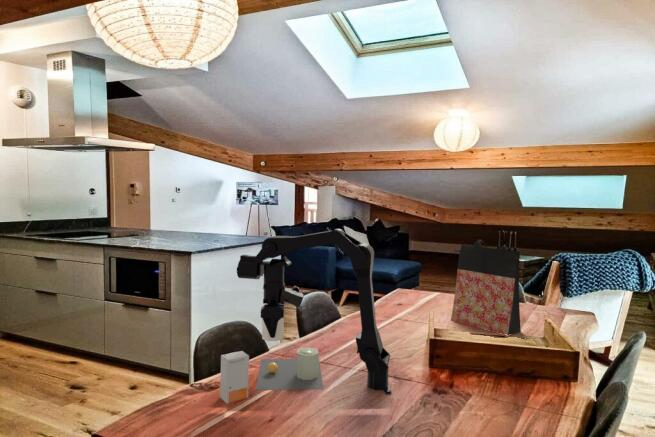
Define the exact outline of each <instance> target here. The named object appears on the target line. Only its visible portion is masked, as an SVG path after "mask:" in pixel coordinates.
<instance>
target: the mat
mask: <svg viewBox="0 0 655 437" xmlns="http://www.w3.org/2000/svg"><path fill="white" fill-rule="evenodd" d="M272 362H273V363H276V364H277V366H278V370H277V372H275V373H270V372H269V371H268V369H267V367H268V365H269V364H270V363H272ZM323 383H324V382H323V379H322V370H321V364H320V360H319V361H318V377H317V378H315V379H313V380H302V379H300V378H297V358H261V359H260V364H259V369H258V375H257V381H256V385H255V391H276V390H277V391H283V390H284V391H285V390H286V391H287V390H288V391H290V390H292V391H293V390H295V391H297V390H299V391H300V390H302V391H303V390H324V384H323Z"/></svg>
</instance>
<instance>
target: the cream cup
mask: <svg viewBox="0 0 655 437" xmlns="http://www.w3.org/2000/svg"><path fill="white" fill-rule="evenodd" d="M261 319H262V322H261V323H262V328H261V329H262V330H261V334H262V335H261V338H262V340H264V341H266V342H278V341H282V340H284V336H285V333H284V330H285V328H284V326H285V322H284V321H285V317H284V318H281V319H280V320H279V321H278V324H277V329H276V334H275V338H271V337H270V335H269V332H268V330H267V327H266V325H265V323H264V321H263V318H261Z"/></svg>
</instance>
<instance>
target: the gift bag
mask: <svg viewBox="0 0 655 437" xmlns="http://www.w3.org/2000/svg"><path fill="white" fill-rule="evenodd" d="M481 242H482V243H483V244H484V245H485V246H482V243H481ZM453 253H459V254H458V260H457V263H458V264H457V271H456V279H455V280H456V282H455V288H454V289H455V291H454V297H453V306H452V311H451V312H452V313H451V317H450V318H451V319H450V321H451V322H457V323H460V324H462V325H467V326H469V327H473V328H478V329H480V328H481V329H480V330H484V329H486V330H485V331H487V330H490V331H489V332H491V331H494V332H498V333H502V334H507V335H509V334H513V335H515V334H517V332H518V333H520V332H521V331H522V328H521V315H520V310H521V309H520V258H521V257H520V256H521V251H518V250H509V249H507V245H506V244H504V245H501V246H498V247H497V248H492V247H488V246H487V245H486V243H485V242H484V241H483V240H482V239H478V240H476V242H474V244H473V245H468V244H460V249H456V248H453ZM494 332H493V333H494ZM498 333H497V334H498ZM514 333H515V334H514Z"/></svg>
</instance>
